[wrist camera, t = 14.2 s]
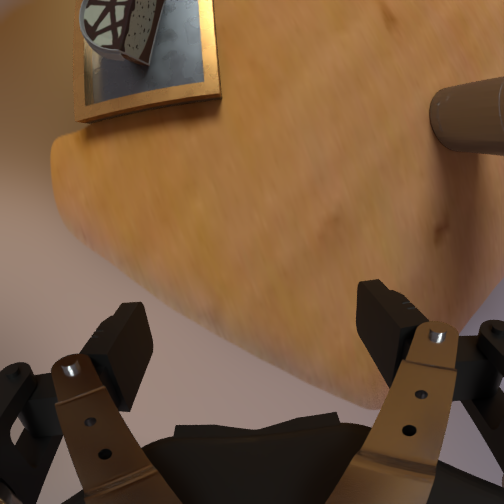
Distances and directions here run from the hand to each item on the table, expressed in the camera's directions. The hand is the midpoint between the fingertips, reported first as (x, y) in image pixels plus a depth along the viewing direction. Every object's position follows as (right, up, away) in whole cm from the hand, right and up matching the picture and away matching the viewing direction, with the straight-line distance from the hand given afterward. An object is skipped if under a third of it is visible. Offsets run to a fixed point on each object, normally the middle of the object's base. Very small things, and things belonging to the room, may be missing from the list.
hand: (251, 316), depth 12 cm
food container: (-14, +29, +19) cm, 37 cm away
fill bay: (-13, +29, +20) cm, 38 cm away
